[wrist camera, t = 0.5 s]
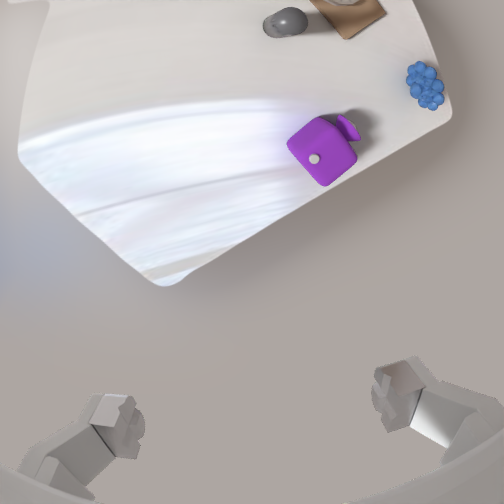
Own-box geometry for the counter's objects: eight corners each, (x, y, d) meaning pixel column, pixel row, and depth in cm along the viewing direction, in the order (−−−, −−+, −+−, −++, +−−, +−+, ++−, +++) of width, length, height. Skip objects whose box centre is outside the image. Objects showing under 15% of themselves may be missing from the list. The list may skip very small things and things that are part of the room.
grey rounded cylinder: (257, 25, 38) (269, 18, 30) (276, 10, 36) (293, 1, 29) (275, 42, 41) (291, 40, 33) (294, 28, 39) (314, 23, 31)
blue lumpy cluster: (386, 62, 44) (422, 70, 35) (408, 55, 43) (445, 62, 34) (401, 109, 51) (435, 125, 42) (421, 100, 50) (456, 115, 41)
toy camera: (355, 129, 54) (379, 144, 46) (315, 175, 60) (334, 197, 52) (320, 97, 49) (342, 107, 41) (278, 148, 55) (292, 166, 47)
